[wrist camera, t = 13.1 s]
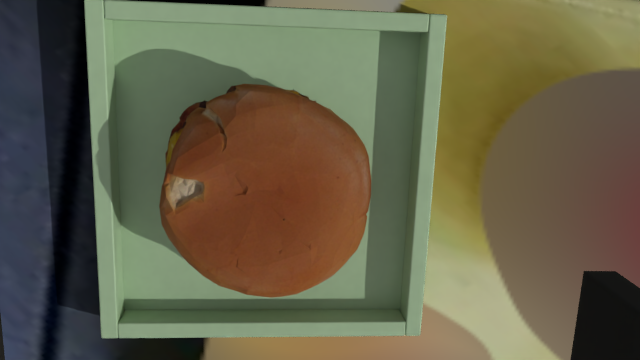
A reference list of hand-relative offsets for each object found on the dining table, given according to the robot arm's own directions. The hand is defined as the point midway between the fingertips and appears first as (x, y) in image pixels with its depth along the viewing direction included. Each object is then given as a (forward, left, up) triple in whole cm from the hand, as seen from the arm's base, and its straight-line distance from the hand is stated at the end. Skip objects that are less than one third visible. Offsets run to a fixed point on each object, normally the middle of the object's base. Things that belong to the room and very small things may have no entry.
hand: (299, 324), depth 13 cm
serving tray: (+1, 0, -16) cm, 16 cm away
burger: (+1, +1, -16) cm, 16 cm away
